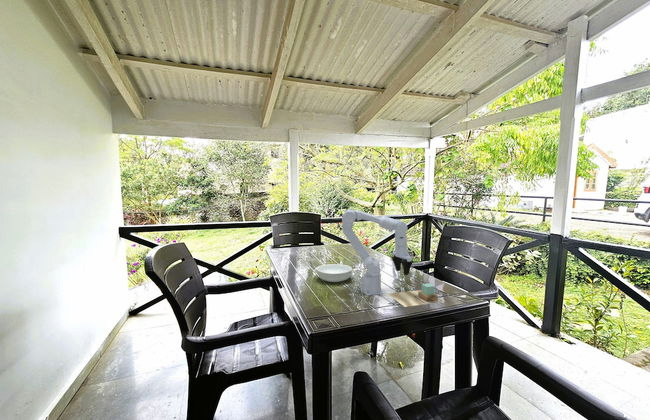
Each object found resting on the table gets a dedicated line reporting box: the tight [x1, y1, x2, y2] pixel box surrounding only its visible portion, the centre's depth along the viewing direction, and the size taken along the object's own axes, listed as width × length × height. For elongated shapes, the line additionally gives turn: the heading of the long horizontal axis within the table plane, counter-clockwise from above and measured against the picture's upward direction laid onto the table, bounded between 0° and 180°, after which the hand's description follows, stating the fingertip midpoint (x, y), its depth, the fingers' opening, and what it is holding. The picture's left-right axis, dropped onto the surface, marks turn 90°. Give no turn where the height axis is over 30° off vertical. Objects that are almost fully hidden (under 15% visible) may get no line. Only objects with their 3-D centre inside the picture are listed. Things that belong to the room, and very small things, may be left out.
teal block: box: [421, 283, 435, 295], centre depth 127 cm, size 4×4×4 cm
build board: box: [387, 289, 445, 308], centre depth 128 cm, size 20×16×1 cm
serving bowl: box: [315, 263, 353, 283], centre depth 158 cm, size 21×21×7 cm
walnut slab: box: [418, 292, 439, 302], centre depth 127 cm, size 6×6×2 cm
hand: (402, 272), depth 135 cm, fingers open, 7 cm apart
